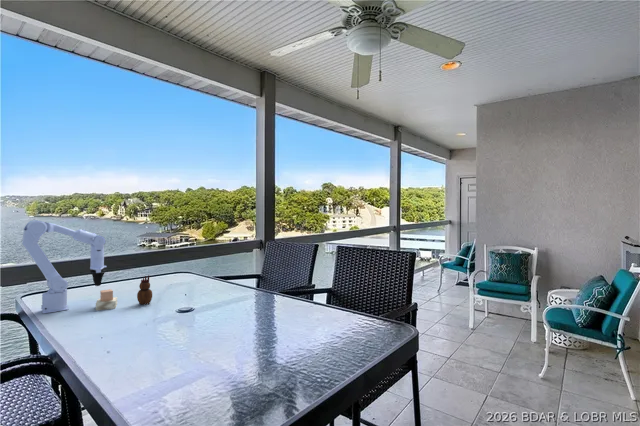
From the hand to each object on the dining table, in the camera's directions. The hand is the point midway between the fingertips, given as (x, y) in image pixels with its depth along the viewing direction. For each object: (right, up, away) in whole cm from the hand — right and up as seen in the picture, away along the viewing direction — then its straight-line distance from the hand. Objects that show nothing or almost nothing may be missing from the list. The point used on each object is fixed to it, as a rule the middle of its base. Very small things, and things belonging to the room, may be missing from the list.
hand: (97, 284), depth 168 cm
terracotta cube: (+10, -6, -7) cm, 14 cm away
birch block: (+10, -10, -7) cm, 16 cm away
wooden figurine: (+25, -10, -1) cm, 27 cm away
